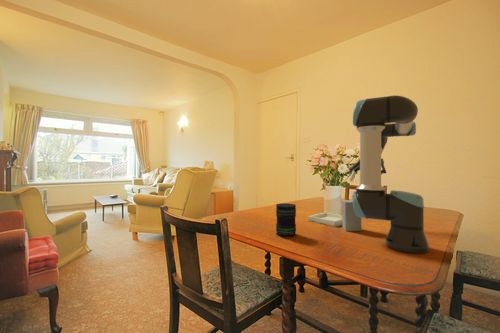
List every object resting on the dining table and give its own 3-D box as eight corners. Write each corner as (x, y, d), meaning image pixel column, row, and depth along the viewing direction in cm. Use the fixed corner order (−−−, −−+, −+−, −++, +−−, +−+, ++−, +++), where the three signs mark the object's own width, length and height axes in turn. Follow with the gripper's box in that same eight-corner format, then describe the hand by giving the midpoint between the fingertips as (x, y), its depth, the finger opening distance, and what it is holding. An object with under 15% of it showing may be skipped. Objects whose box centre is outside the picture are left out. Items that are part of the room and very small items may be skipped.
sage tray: (334, 226, 134) (334, 221, 134) (308, 221, 147) (308, 216, 147) (350, 221, 145) (350, 216, 145) (324, 216, 159) (324, 212, 159)
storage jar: (282, 230, 126) (282, 202, 126) (299, 234, 120) (299, 204, 120) (272, 235, 118) (272, 205, 118) (289, 239, 112) (289, 207, 112)
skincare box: (357, 228, 130) (357, 199, 130) (362, 232, 123) (362, 201, 123) (341, 228, 131) (341, 199, 131) (345, 231, 124) (345, 201, 124)
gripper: (398, 158, 136) (388, 187, 127) (355, 159, 155) (343, 183, 146) (395, 148, 132) (384, 177, 123) (351, 150, 151) (339, 175, 142)
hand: (362, 181), depth 134 cm, fingers open, 13 cm apart
